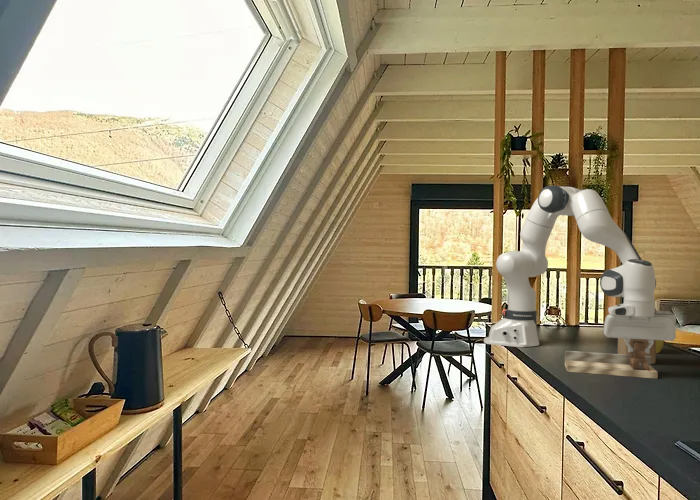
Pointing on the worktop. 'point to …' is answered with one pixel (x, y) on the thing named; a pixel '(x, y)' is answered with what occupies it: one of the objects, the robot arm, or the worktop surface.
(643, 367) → the marking gauge
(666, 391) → the worktop surface
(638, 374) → the board
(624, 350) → the wooden block
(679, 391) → the worktop surface
